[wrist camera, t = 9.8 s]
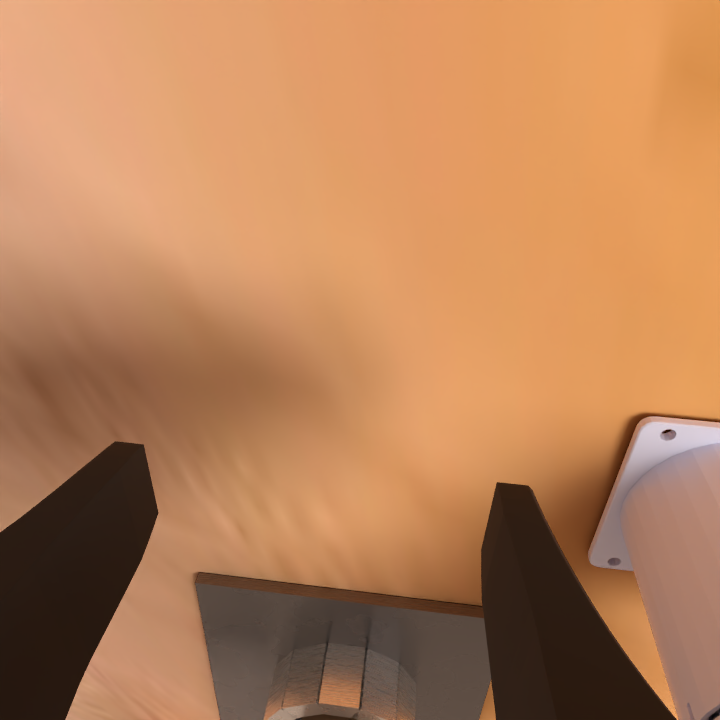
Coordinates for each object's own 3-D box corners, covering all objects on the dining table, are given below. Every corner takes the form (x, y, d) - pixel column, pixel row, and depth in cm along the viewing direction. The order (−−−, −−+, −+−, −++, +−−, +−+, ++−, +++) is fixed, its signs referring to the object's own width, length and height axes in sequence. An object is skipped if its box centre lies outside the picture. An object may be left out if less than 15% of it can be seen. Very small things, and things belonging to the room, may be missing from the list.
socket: (507, 609, 29) (514, 685, 26) (464, 755, 38) (466, 824, 35) (199, 572, 30) (172, 641, 27) (225, 721, 39) (207, 786, 36)
